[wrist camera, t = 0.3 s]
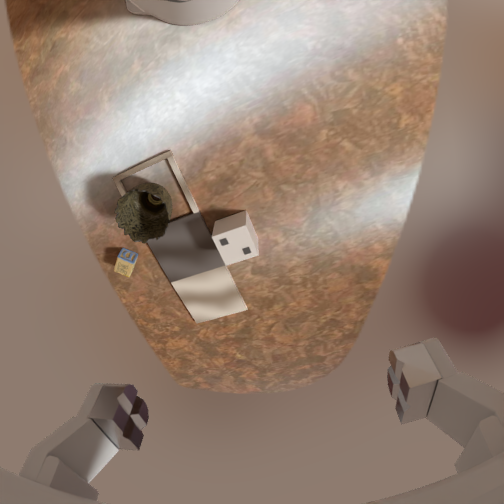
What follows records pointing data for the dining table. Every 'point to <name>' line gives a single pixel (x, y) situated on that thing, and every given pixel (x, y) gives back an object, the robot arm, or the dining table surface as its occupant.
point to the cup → (144, 212)
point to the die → (235, 238)
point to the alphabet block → (125, 262)
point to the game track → (192, 257)
